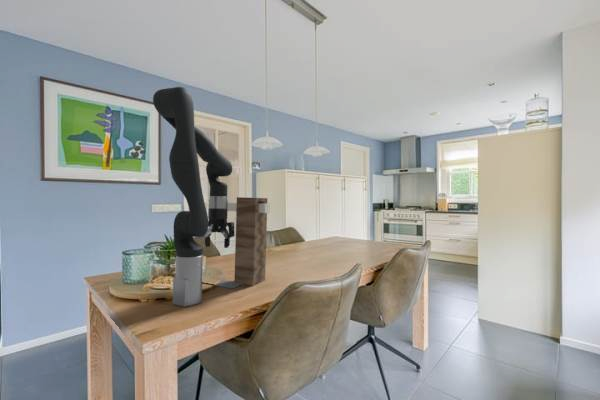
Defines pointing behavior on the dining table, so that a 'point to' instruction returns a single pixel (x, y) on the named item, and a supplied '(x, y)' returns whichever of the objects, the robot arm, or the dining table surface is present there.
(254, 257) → the socket tower
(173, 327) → the dining table surface
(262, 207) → the plug bar
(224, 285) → the mat
